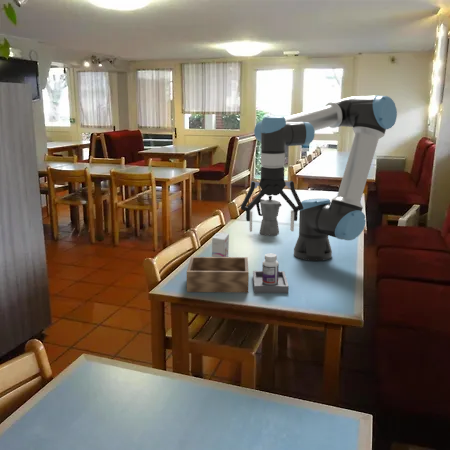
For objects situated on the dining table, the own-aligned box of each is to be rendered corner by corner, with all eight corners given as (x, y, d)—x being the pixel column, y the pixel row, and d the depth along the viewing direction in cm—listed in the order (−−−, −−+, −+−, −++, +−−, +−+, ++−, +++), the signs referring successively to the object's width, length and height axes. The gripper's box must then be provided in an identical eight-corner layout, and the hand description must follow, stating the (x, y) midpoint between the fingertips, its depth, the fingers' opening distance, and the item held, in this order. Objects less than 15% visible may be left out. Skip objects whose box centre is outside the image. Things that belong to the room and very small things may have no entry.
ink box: (224, 269, 170) (224, 239, 167) (211, 268, 171) (211, 238, 168) (228, 262, 178) (229, 232, 175) (216, 261, 179) (216, 232, 176)
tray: (284, 277, 163) (284, 271, 162) (288, 292, 149) (288, 286, 148) (252, 277, 163) (253, 270, 162) (254, 292, 149) (254, 285, 149)
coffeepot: (286, 233, 218) (287, 196, 213) (273, 237, 211) (274, 199, 207) (261, 227, 228) (262, 192, 224) (249, 231, 222) (249, 194, 217)
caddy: (247, 275, 164) (247, 257, 162) (248, 292, 149) (248, 272, 148) (191, 275, 164) (191, 256, 163) (186, 291, 150) (186, 271, 148)
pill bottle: (269, 278, 159) (269, 251, 157) (281, 282, 156) (282, 255, 153) (258, 282, 156) (259, 255, 153) (271, 286, 152) (271, 258, 150)
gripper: (309, 164, 150) (307, 227, 155) (233, 164, 150) (233, 227, 156) (313, 167, 143) (311, 233, 148) (233, 168, 143) (233, 233, 148)
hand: (271, 230), depth 152 cm, fingers open, 13 cm apart
